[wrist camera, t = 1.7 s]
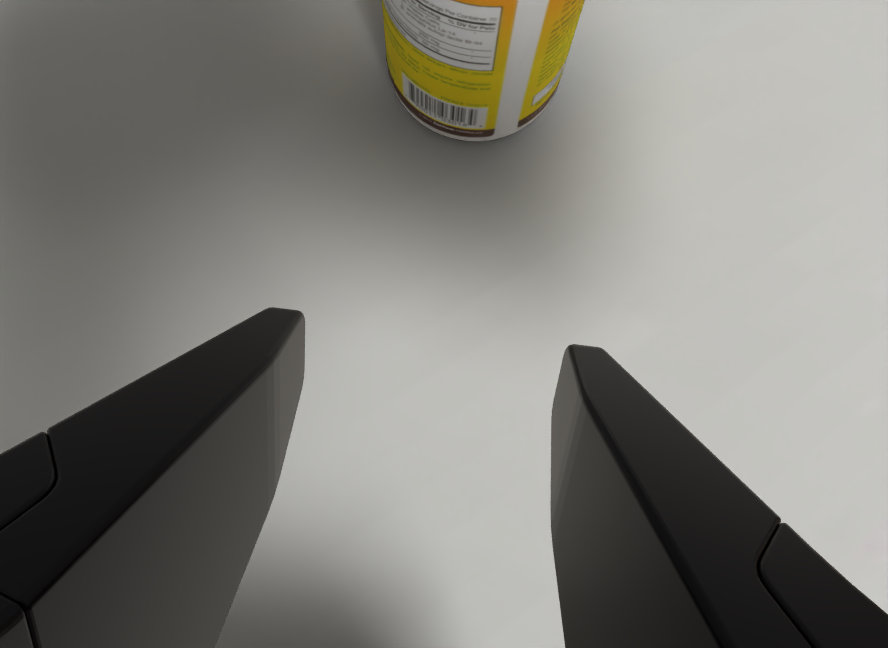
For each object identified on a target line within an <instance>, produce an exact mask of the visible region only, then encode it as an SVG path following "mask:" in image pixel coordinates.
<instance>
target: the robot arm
mask: <svg viewBox="0 0 888 648" xmlns="http://www.w3.org/2000/svg"><path fill="white" fill-rule="evenodd" d="M304 365H305V318H304V315H303V313H302V312H300V311H298V310H290V309H282V308H274V307H271V308H267V309H265V310H263V311H261V312H259V313H258V314H256V315H254V316H252V317H250V318H248V319H247V320H245V321H243V322H241V323H239V324H238V325H236V326H234V327H232V328H230V329H228V330H227V331H225V332H223V333H221V334H219V335H218V336H216V337H214V338H212V339H210V340H208V341H207V342H205V343H203V344H201V345H199V346H197V347H196V348H194V349H192V350H190V351H188V352H187V353H185V354H183V355H181V356H179V357H177V358H176V359H174V360H172V361H170V362H168V363H166V364H165V365H163V366H161V367H159V368H157V369H156V370H154V371H152V372H150V373H148V374H146V375H145V376H143V377H141V378H139V379H137V380H135V381H134V382H132V383H130V384H128V385H126V386H125V387H123V388H121V389H119V390H117V391H115V392H114V393H112V394H110V395H108V396H106V397H104V398H103V399H101V400H99V401H97V402H95V403H94V404H92V405H90V406H88V407H86V408H84V409H83V410H81V411H79V412H77V413H75V414H73V415H72V416H70V417H68V418H66V419H64V420H62V421H61V422H59V423H57V424H55V425H53V426H52V427H50V428H48V430H47V434H46V433H44V432H40V433H38V434H37V435H35V436H33V437H31V438H29V439H27V440H26V441H24V442H22V443H20V444H18V445H16V446H15V447H13V448H11V449H9V450H7V451H5V452H3V453H1V454H0V648H214V647H215V644H216V642H217V639H218V637H219V634H220V632H221V629H222V627H223V624H224V622H225V619H226V617H227V614H228V612H229V609H230V607H231V604H232V602H233V599H234V597H235V594H236V592H237V589H238V587H239V584H240V582H241V579H242V577H243V574H244V572H245V569H246V567H247V564H248V562H249V559H250V557H251V554H252V552H253V549H254V547H255V544H256V542H257V539H258V537H259V534H260V532H261V529H262V527H263V524H264V522H265V519H266V517H267V514H268V512H269V509H270V506H271V503H272V500H273V498H274V495H275V492H276V488H277V484H278V481H279V477H280V474H281V470H282V466H283V462H284V458H285V454H286V450H287V446H288V442H289V438H290V434H291V430H292V426H293V422H294V418H295V414H296V410H297V406H298V402H299V398H300V394H301V390H302V386H303V379H304ZM780 523H781V519H780V517H779V516H778V515H777V514H776V513H775V512H774V511H773V510H771V509H770V508H769V507H768V506H767V505H766V504H765V503H764V502H763V501H762V500H761V499H760V498H759V497H758V496H757V495H756V494H755V493H754V492H753V491H752V490H751V489H749V488H748V487H747V486H746V485H745V484H744V483H743V482H742V481H741V480H740V479H739V478H738V477H737V476H736V475H735V474H734V473H733V472H732V471H731V470H730V469H729V468H727V467H726V466H725V465H724V464H723V463H722V462H721V461H720V460H719V459H718V458H717V457H716V456H715V455H714V454H713V453H712V452H711V451H710V450H709V449H708V448H707V447H705V446H704V445H703V444H702V443H701V442H700V441H699V440H698V439H697V438H696V437H695V436H694V435H693V434H692V433H691V432H690V431H689V430H688V429H687V428H686V427H685V426H683V425H682V424H681V423H680V422H679V421H678V420H677V419H676V418H675V417H674V416H673V415H672V414H671V413H670V412H669V411H668V410H667V409H666V408H665V407H664V406H662V405H661V404H660V403H659V402H658V401H657V400H656V399H655V398H654V397H653V396H652V395H651V394H650V393H649V392H648V391H647V390H646V389H645V388H644V387H643V386H642V385H640V384H639V383H638V382H637V381H636V380H635V379H634V378H633V377H632V376H631V375H630V374H629V373H628V372H627V371H626V370H625V369H624V368H623V367H622V366H621V365H620V364H618V363H617V362H616V361H615V360H614V359H613V358H612V357H611V356H610V355H609V354H608V353H607V352H606V351H605V350H603V349H602V348H599V347H592V346H584V345H576V344H572V345H569V346H568V347H567V348H566V350H565V353H564V356H563V360H562V365H561V369H560V374H559V379H558V383H557V388H556V392H555V397H554V401H553V408H552V421H551V533H552V544H553V552H554V561H555V569H556V577H557V585H558V593H559V601H560V609H561V617H562V625H563V633H564V641H565V648H888V614H887V613H886V612H884V611H883V610H882V609H881V608H880V607H878V606H877V605H876V604H875V603H874V602H873V601H871V600H870V599H869V598H868V597H867V596H865V595H864V594H863V593H862V592H861V591H859V590H858V589H857V588H856V587H855V586H854V585H852V584H851V583H850V582H849V581H848V580H847V579H846V578H845V577H843V576H842V575H841V574H840V573H839V572H838V571H837V570H836V569H835V568H834V567H833V566H831V565H830V564H829V563H828V562H827V561H826V560H825V559H824V558H823V557H822V556H820V555H819V554H818V553H817V552H816V551H815V550H814V549H813V548H812V547H811V546H810V545H809V544H807V543H806V542H805V541H804V540H803V539H802V538H801V537H800V536H799V535H798V534H797V533H796V532H795V531H794V530H793V529H792V528H791V527H790V526H789V525H788V524H786V523H781V524H780Z"/></svg>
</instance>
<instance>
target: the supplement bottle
mask: <svg viewBox="0 0 888 648" xmlns="http://www.w3.org/2000/svg"><path fill="white" fill-rule="evenodd" d="M583 4H584V0H382V8H383V19H384V31H385V43H386V60H387V65H388V71H389V76H390V80H391V83H392V86H393V88H394V90H395V93H396V95H397V96H398V98H399V100H400V101H401V103H402V104H403V106H404V107H405V108H406V110H407V111H408V112H409V113H410V114H411V115H412V116H413V117H414V118H415V119H416V120H418V121H419V122H420V123H421V124H423V125H424V126H426V127H427V128H429V129H430V130H432V131H434V132H436V133H439V134H441V135H444V136H447V137H450V138H454V139H459V140H465V141H487V140H493V139H498V138H502V137H505V136H508V135H510V134H513V133H515V132H517V131H519V130H521V129H522V128H524V127H526V126H527V125H529V124H530V123H531V122H532V121H534V120H535V119H536V118H537V117H538V116H539V115H540V114H541V113H542V112H543V111H544V109H545V108H546V107H547V105H548V104H549V103H550V101H551V100H552V98H553V96H554V94H555V92H556V90H557V87H558V84H559V81H560V78H561V75H562V72H563V69H564V66H565V63H566V60H567V56H568V53H569V49H570V46H571V43H572V40H573V37H574V33H575V30H576V27H577V23H578V20H579V17H580V14H581V11H582V7H583Z"/></svg>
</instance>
